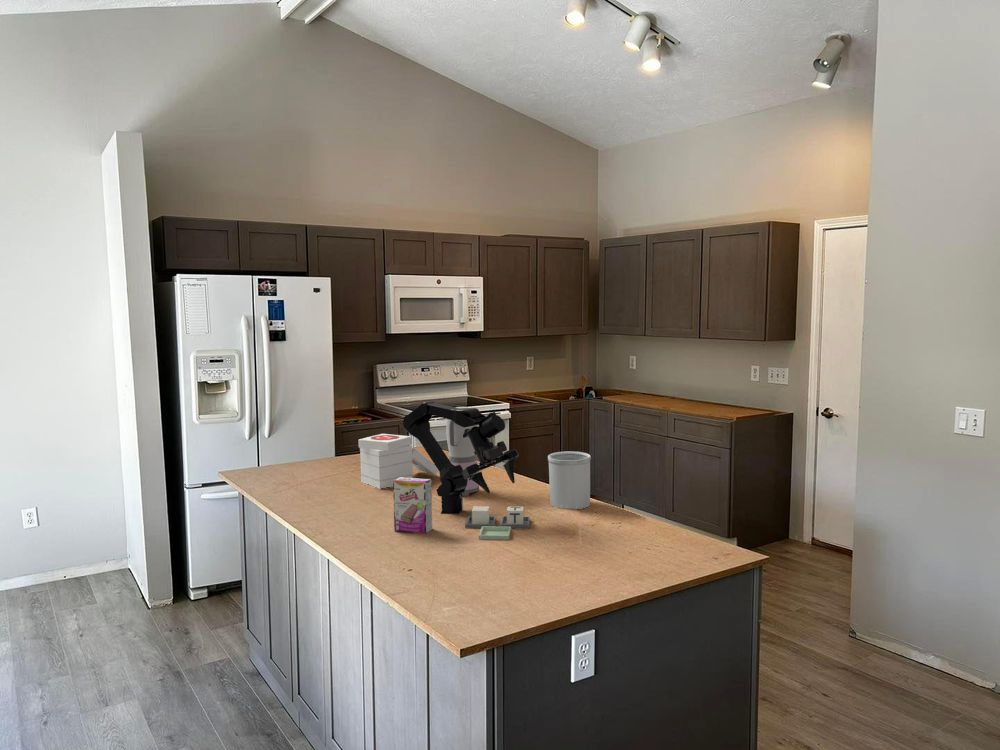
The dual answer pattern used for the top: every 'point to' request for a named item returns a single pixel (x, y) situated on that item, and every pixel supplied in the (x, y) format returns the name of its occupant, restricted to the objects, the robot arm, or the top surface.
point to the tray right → (515, 526)
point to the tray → (494, 533)
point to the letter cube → (515, 515)
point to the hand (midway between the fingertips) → (501, 488)
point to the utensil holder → (569, 479)
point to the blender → (461, 450)
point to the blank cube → (480, 515)
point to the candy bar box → (412, 505)
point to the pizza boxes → (390, 459)
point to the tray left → (469, 524)
